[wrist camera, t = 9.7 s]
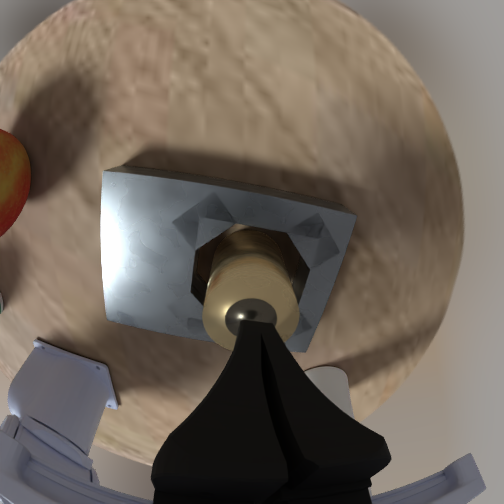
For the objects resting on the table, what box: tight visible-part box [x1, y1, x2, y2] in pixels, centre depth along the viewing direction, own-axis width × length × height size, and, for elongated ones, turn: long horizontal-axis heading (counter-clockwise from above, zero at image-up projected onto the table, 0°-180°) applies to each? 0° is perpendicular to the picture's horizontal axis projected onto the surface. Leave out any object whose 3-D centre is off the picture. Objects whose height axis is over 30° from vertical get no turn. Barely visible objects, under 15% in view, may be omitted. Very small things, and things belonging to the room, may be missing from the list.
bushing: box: [202, 230, 299, 351], centre depth 15 cm, size 4×4×6 cm
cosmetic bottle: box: [305, 366, 372, 496], centre depth 13 cm, size 6×6×22 cm
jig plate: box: [101, 165, 357, 353], centre depth 16 cm, size 14×10×2 cm
